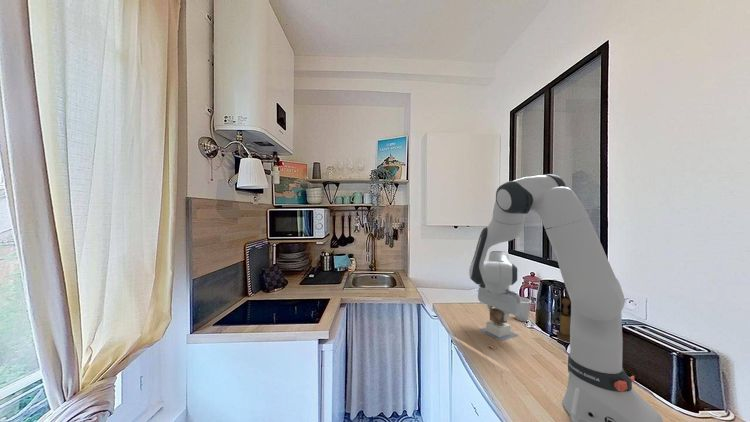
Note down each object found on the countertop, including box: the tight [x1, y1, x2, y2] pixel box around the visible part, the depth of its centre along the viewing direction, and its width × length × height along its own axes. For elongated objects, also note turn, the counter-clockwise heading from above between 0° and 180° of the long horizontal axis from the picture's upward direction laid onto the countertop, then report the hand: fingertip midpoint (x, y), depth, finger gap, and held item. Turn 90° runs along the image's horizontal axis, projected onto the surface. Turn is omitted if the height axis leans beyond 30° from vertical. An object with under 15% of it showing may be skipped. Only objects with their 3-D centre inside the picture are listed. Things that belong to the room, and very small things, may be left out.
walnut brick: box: [489, 307, 508, 324], centre depth 119 cm, size 5×5×5 cm
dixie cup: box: [514, 296, 532, 322], centre depth 137 cm, size 8×8×10 cm
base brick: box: [485, 320, 511, 337], centre depth 120 cm, size 7×7×4 cm
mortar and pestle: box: [556, 297, 571, 343], centre depth 115 cm, size 7×6×18 cm
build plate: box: [477, 327, 520, 342], centre depth 120 cm, size 12×12×1 cm
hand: (498, 317), depth 119 cm, fingers closed on walnut brick, 5 cm apart
